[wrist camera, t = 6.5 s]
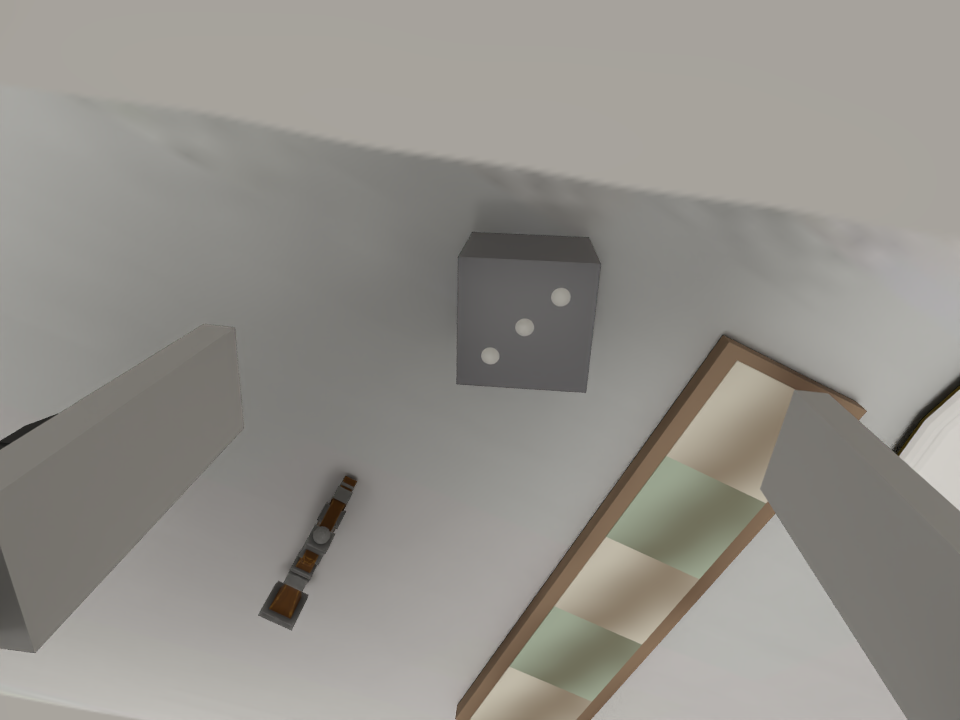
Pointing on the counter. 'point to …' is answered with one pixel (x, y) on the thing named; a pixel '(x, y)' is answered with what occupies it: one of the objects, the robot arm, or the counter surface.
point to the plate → (938, 448)
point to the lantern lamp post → (307, 561)
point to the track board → (648, 544)
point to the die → (526, 311)
